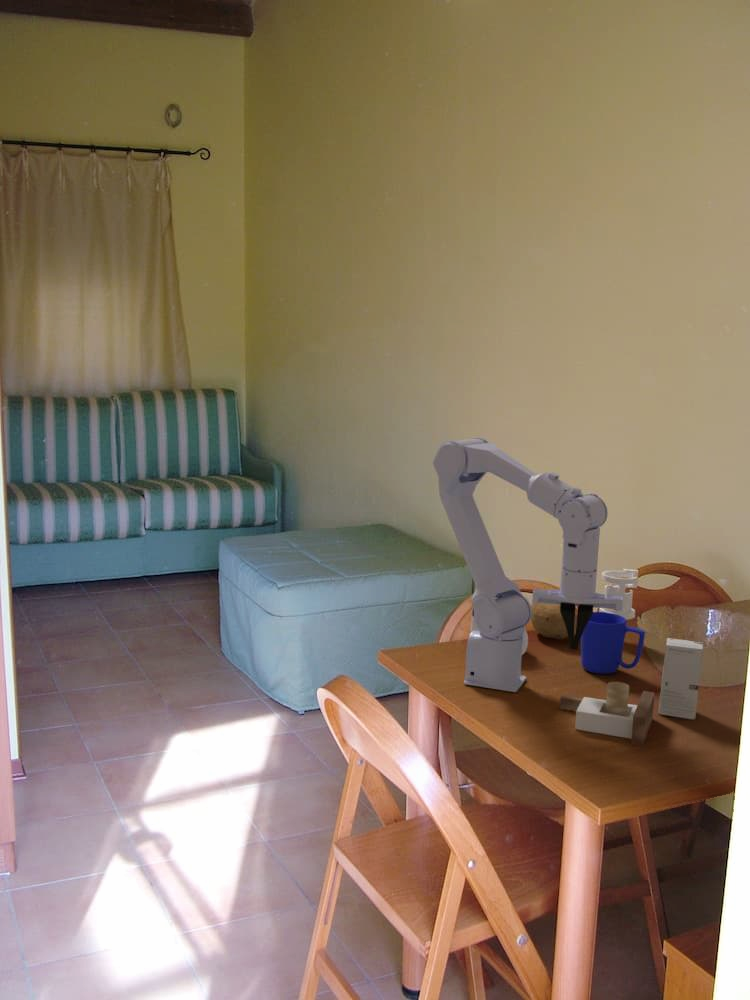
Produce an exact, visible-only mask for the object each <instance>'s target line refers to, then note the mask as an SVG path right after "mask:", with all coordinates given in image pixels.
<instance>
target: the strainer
mask: <svg viewBox="0 0 750 1000" xmlns="http://www.w3.org/2000/svg"><path fill="white" fill-rule="evenodd" d="M638 579H639V570H638V569H629V568H623V569H622V570H605V571H603V572H602V573H601V580H602V581H604V582H606V583H609V584H607V585H605V586H604V593H603V594H606V595H612V596H620V597H622V598H623V602H622V611H617V610H615V609H607V608H598V609H599V610H598V612H606V613H613V614H617V615H620V616H622V617H624V618H625V619H626V621H627V620H633V619H634V618H636V610H635V609H634V608H633V607H632V606H633V595H634V594H633V593H634V590H632V589H638V582H639V580H638ZM611 584H612V585H611ZM629 588H630V589H629ZM631 588H632V589H631ZM626 589H629V592H626Z"/></svg>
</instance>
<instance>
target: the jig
mask: <svg viewBox="0 0 750 1000" xmlns="http://www.w3.org/2000/svg"><path fill="white" fill-rule="evenodd" d="M655 694H656V693H655V692H652V691H646V690H643V691H642V693H641V696H640V698H639V700H638V703H637V705H638V706H637V708H636V711H635V713H634V716H633V727H632V739H630V740H631V742H630V744H632V745H635V746H636V745H637V746H643V747H644V744H645V741H646V738H647V736H648V733H649V730H650V727H651V724H652V722H653V715H654V704H655ZM559 698H560V700H559V710H564V709H567V710H566V711H570V710H574V711H573V712H576V711H577V709H578V707H579V705H580V703H581V702H582V700H583V698H581V697H573V696H567V695H560V697H559Z"/></svg>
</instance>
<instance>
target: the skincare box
mask: <svg viewBox="0 0 750 1000" xmlns="http://www.w3.org/2000/svg"><path fill="white" fill-rule="evenodd" d="M704 645H705V644H704V643H703V642H699V641H691V640H687V639H686V640H685V639H677V638H670V637H667V638H666V644H665V651H664V659H663V668H662V676H661V687H660V696H659V703H658V705H659V706H658V715H662V716H669V717H675V718H680V719H687V720H696V716H697V715H696V714H697V707H698V699H699V690H700V681H701V673H702V667H703V664H702V663H703V657H704Z"/></svg>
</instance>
